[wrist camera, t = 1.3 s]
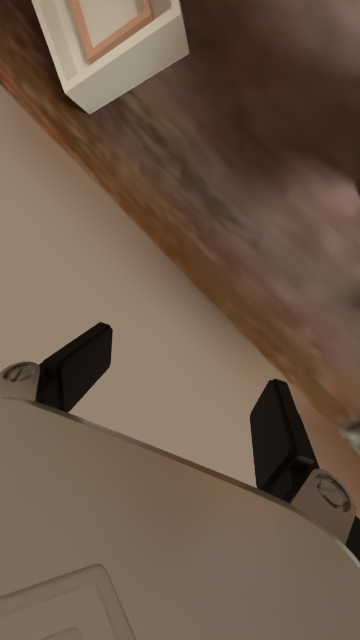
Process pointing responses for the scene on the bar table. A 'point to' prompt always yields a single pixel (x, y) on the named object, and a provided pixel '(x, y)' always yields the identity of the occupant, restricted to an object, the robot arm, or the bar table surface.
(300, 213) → the bar table surface
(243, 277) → the bar table surface
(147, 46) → the walled box
